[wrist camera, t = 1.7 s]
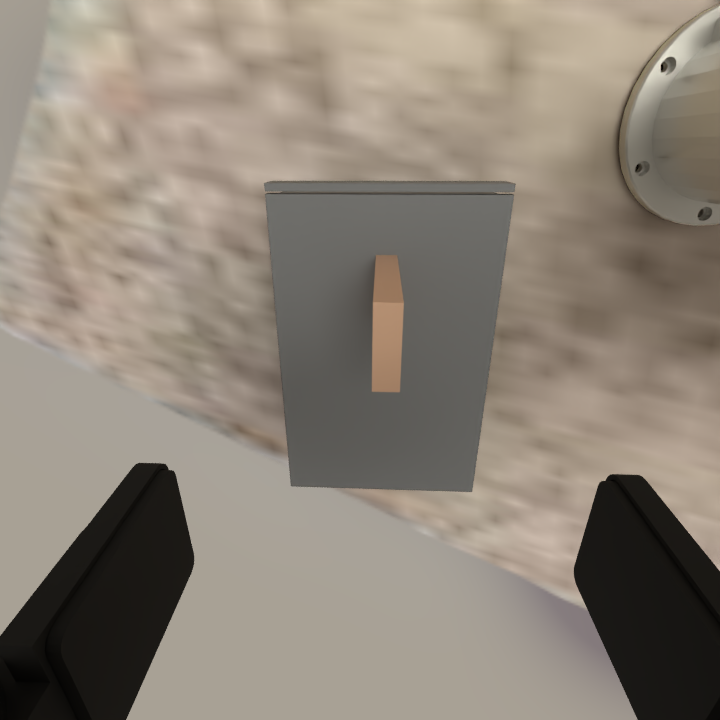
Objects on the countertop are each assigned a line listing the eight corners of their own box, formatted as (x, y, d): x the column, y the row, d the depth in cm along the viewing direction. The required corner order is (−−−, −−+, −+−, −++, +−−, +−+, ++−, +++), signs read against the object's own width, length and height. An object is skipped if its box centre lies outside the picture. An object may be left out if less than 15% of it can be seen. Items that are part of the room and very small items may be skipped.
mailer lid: (272, 181, 25) (206, 199, 16) (506, 181, 25) (582, 201, 15) (295, 469, 34) (262, 590, 25) (467, 474, 34) (500, 600, 24)
